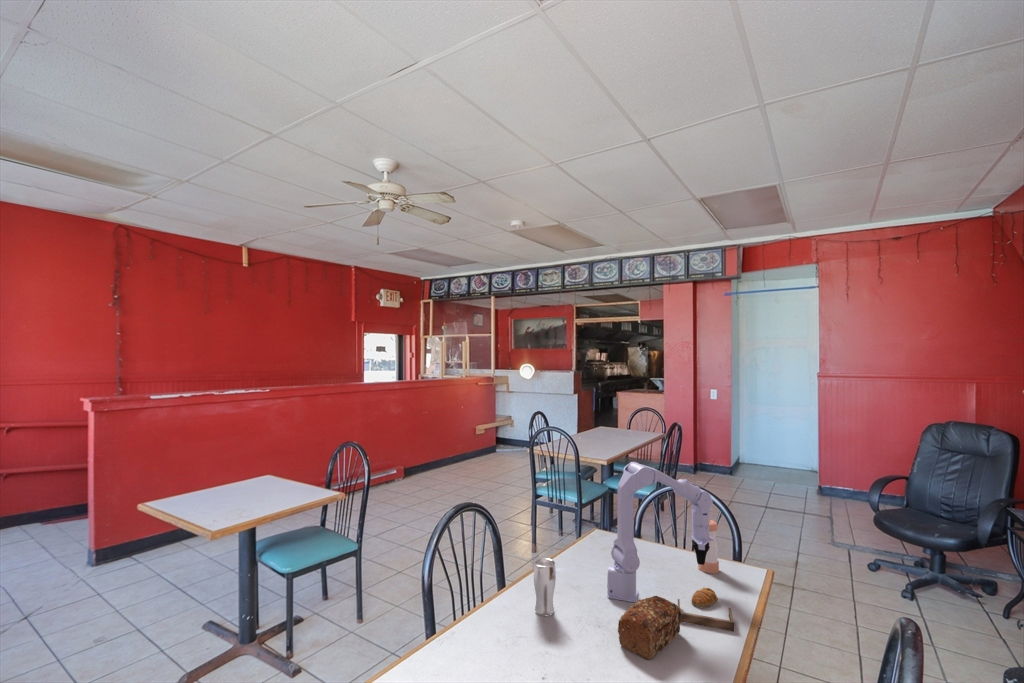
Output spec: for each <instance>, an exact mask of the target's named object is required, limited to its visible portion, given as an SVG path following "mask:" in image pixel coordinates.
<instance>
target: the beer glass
mask: <svg viewBox="0 0 1024 683" xmlns="http://www.w3.org/2000/svg"><path fill="white" fill-rule="evenodd" d="M556 576H557V575H556V561H555V560H554V559H551V558H543V557H541V558H537V559H535V560H534V566H533V584H534V592H535V606H534V612H535V611H536V612H535V613H536V614H537V613H538V614H540V615H539V616H541V615H549V616H551V615H550V614H552V613H553V612H554V613H555V607H554V594H555V593H554V592H555V589H556V588H555V587H556V581H557V579H556ZM554 613H553V614H554ZM538 614H537V615H538ZM553 614H552V615H553Z"/></svg>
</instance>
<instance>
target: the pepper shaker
mask: <svg viewBox="0 0 1024 683" xmlns="http://www.w3.org/2000/svg"><path fill="white" fill-rule="evenodd" d="M718 529H719V526H718V523H717V522H716V521H715V520H712V519H710V518H709V537H712V538H713V541H709V546H710V548H709V550H708V552H707V554H706V559H705V563H704V565H700V564H698V563H697V567H698V570H700V571H701V572H703V573H706V572H707V573H708V574H717V572H718V573H719V570H720V566H719V563H720V562H719V560H718V558H719V557H718V556H719V554H718V553H719V551H718V547H717V546H718V545H717V530H718Z"/></svg>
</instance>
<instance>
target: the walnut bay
mask: <svg viewBox="0 0 1024 683" xmlns="http://www.w3.org/2000/svg"><path fill="white" fill-rule="evenodd" d="M680 602H681V600H680V598H677V606H678V607H679V608H680V609H681V607H680V604H681V603H680ZM728 619H729V620H728ZM728 619H724V618H719V617H714V616H713V617H711V616H706V615H703V614H702V615H700V614H695V613H689V612H684V611H681V620H680V621H681V623H684V622H685V624H689V623H690V625H695V626H701V627H706V628H712V629H718V630H723V631H728V632H735V620H734V616H733V611H732V608H731V607H728Z"/></svg>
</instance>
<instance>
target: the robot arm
mask: <svg viewBox="0 0 1024 683" xmlns="http://www.w3.org/2000/svg"><path fill="white" fill-rule="evenodd" d="M621 475H622V476H621V478H620V480H619V482H618V484H617V512H616V513H617V519H616V520H617V524H616V525H617V530H616V531H617V535H616V536H617V538H616V539H614V540H613V546H612V548H611V552H610V556H611V558H612V559H613V561H614V565H608V568H607V586H606V587H607V599H613V600H619V601H624V602H628V603H629V602H630V603H635V604H636V603H637V602H638V596H639V590H638V589H637V570H638V569H639V567H640V564H641V561H640V558H639V556H638V549H637V546H636V544H635V536H634V535H635V534H634V532H635V531H634V530H635V527H634V524H635V523H634V522H635V521H634V520H635V516H634V515H635V514H634V512H635V507H634V505H635V504H634V503H635V500H634V499H635V497H634V496H635V493H637V492H638V491H640V490H642V489H644V488H647V487H649V486H650V485H652V484H656V483H657V482H659V483H660V484H662V485H665V486H667V487H670V488H671V489H672V491H673V493H674V494H675V495H676V496H679V497H680V498H682V499H684V500H686V501H688V502H689V503H691V535H690V536H691V539H692V540H691V545H692V548H693V549H694V553H695V556H696V562H697V565H698V564H700V565H704V563H705V559H706V554H707V552H708V550H709V548H710V546H709V541H713V538H712V537H709V519H710V512H711V507H712V505H713V502H714V498H713V499H712V495H711V493H709V492H708V491H707V490H703V489H701V487H700V486H699V485H694V484H693V483H690V481H689V480H688V479H686V478H684V479H682V478H681V479H680V478H679V479H677V480H676V479H674V478H672V477H671V476H669V475H667V474H666V473H664V472H662V471H661V470H658V469H656V468H653V467H650V466H649V465H648V466H647V465H645V464H640V463H639V462H637V461H631V462H629V463H628V464H627V465H625V466H624V467H623V474H621Z"/></svg>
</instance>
